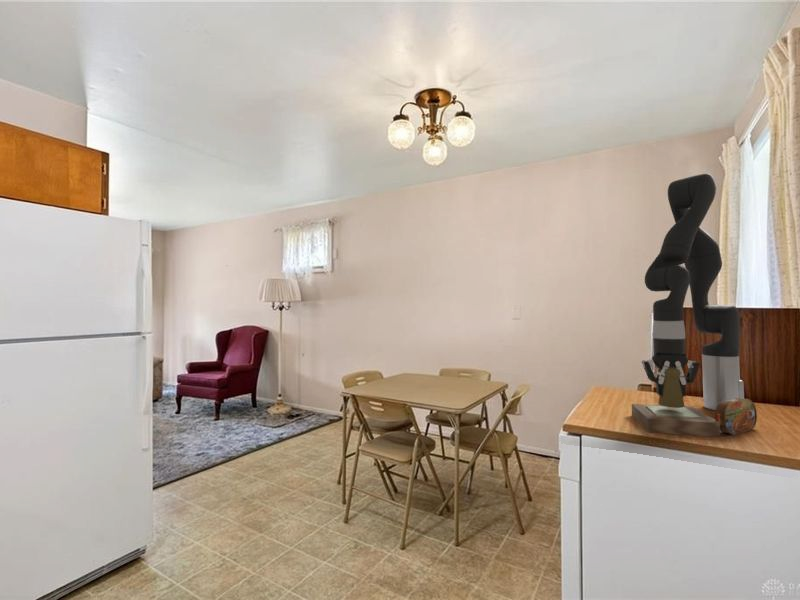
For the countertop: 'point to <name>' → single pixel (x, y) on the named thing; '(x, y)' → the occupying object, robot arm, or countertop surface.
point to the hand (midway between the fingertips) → (671, 396)
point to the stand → (675, 420)
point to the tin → (736, 416)
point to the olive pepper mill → (671, 389)
